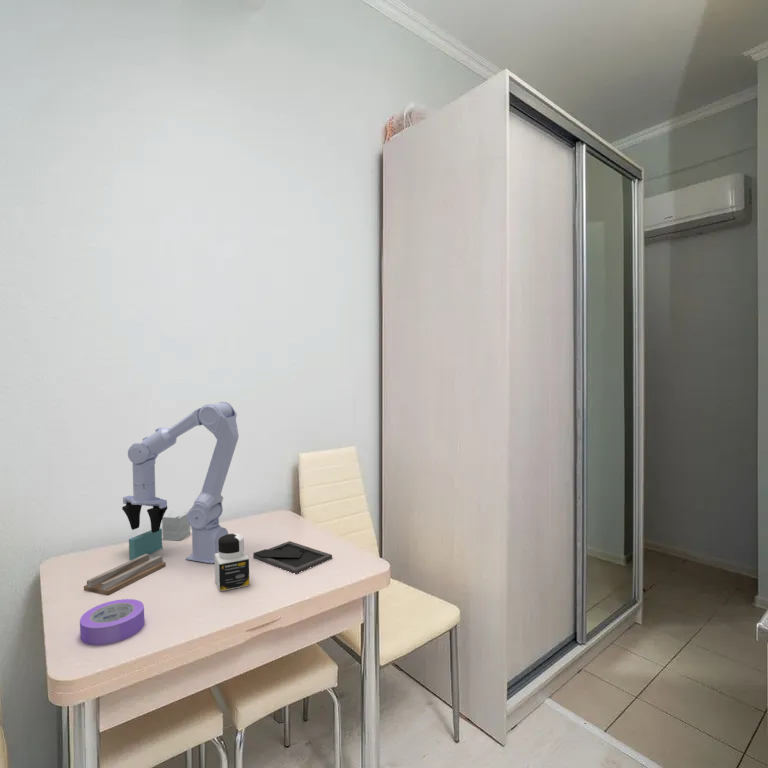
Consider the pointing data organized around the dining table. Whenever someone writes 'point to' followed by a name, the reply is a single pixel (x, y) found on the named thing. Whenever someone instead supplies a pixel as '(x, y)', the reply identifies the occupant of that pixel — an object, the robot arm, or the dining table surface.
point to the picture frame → (292, 557)
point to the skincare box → (175, 526)
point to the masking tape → (112, 622)
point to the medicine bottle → (231, 563)
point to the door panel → (145, 544)
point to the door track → (124, 574)
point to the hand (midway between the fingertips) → (145, 530)
